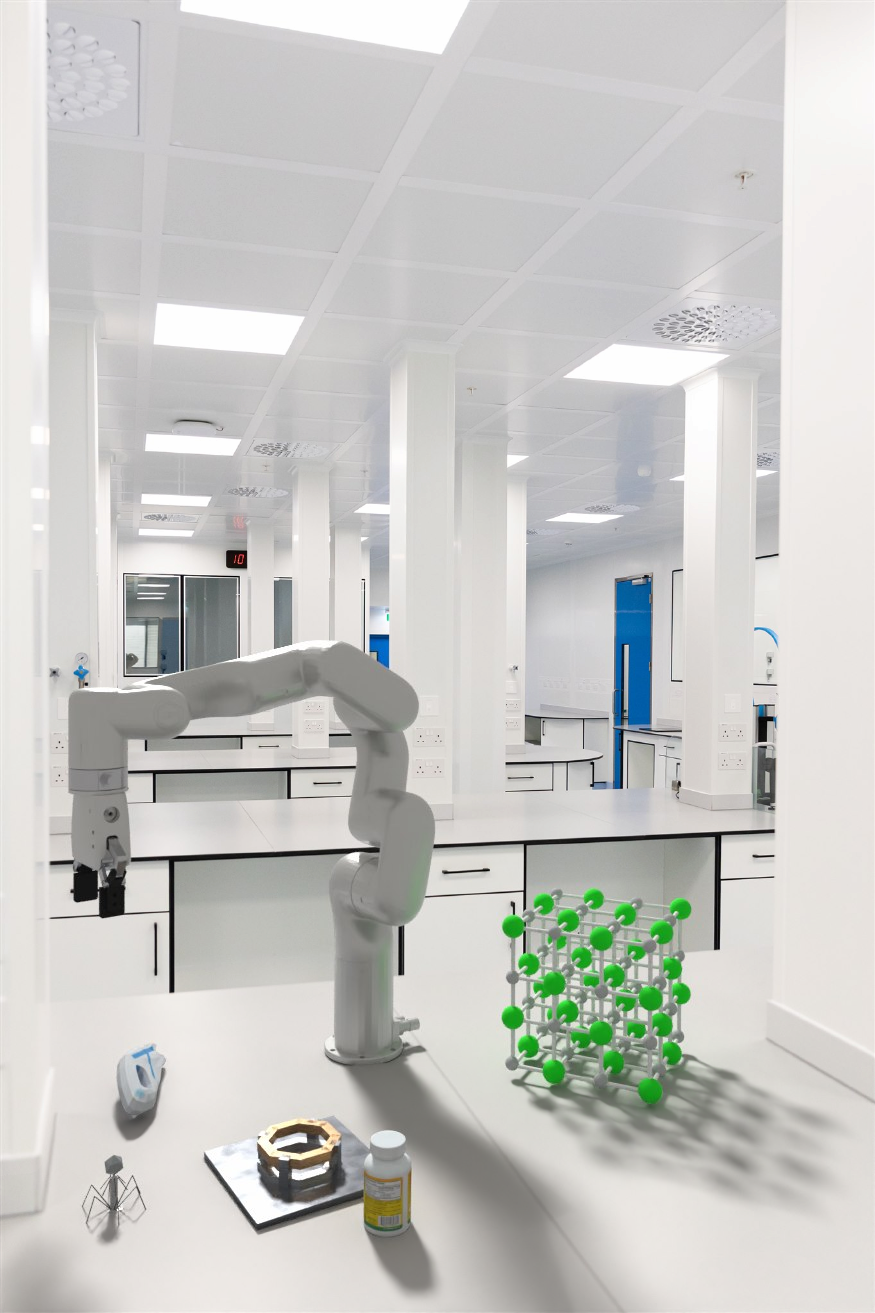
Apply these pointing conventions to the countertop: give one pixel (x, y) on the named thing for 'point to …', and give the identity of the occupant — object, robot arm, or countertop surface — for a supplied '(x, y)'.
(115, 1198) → the bacteriophage
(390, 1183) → the supplement bottle
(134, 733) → the robot arm
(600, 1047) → the molecular structure model
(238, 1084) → the countertop surface
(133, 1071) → the spaceship
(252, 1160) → the collar base
